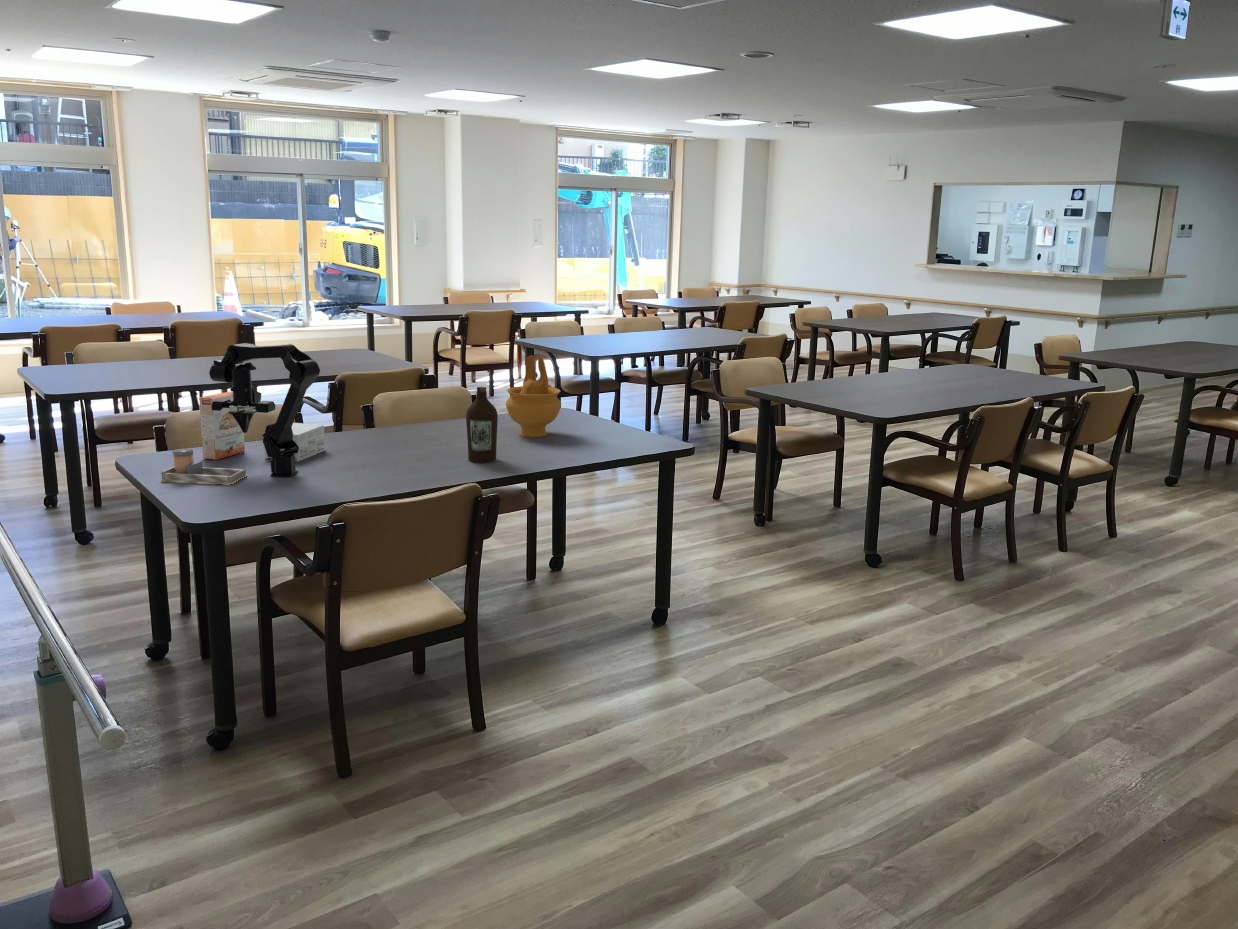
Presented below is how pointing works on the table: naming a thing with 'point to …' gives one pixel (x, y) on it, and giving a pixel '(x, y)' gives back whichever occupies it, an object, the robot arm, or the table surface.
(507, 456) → the table surface
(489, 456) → the olive oil
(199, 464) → the pusher plate
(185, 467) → the jar
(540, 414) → the decorative bowl
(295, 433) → the supplement box
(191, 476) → the shallow rectangular tray
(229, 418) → the cracker box
